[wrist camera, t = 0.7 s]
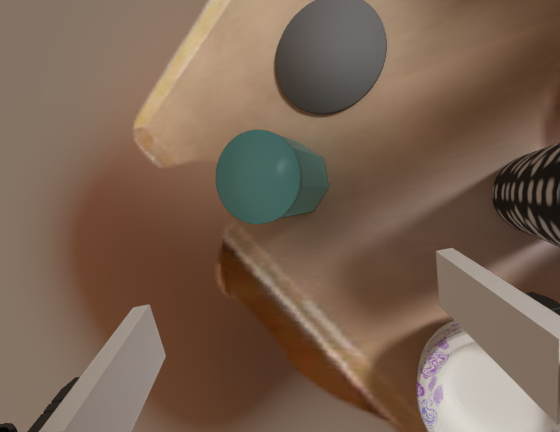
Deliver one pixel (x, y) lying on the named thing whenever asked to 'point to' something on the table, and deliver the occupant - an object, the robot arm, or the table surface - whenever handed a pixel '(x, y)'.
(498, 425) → the paper bowls
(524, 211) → the spotted tube
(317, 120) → the table surface
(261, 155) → the teal piece
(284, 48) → the coaster
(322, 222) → the table surface
